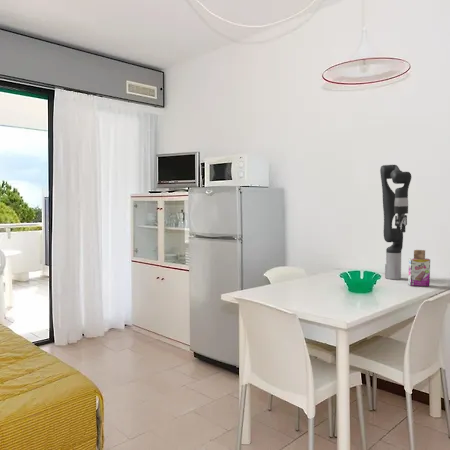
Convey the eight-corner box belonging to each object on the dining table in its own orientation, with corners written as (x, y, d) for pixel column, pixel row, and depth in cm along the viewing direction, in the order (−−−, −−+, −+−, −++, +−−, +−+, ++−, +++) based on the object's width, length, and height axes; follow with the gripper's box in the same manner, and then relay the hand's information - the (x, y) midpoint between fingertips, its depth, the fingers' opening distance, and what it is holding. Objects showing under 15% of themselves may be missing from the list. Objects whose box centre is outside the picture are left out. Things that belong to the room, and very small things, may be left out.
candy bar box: (410, 286, 251) (411, 259, 250) (407, 284, 256) (408, 258, 255) (430, 286, 250) (430, 259, 249) (427, 284, 255) (427, 258, 254)
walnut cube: (413, 258, 251) (413, 250, 251) (416, 257, 255) (416, 249, 255) (422, 259, 248) (422, 251, 248) (425, 258, 252) (425, 250, 252)
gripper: (398, 205, 256) (398, 231, 257) (390, 205, 245) (390, 233, 246) (411, 205, 251) (411, 232, 252) (404, 205, 241) (403, 233, 241)
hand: (401, 232), depth 249 cm, fingers open, 8 cm apart
